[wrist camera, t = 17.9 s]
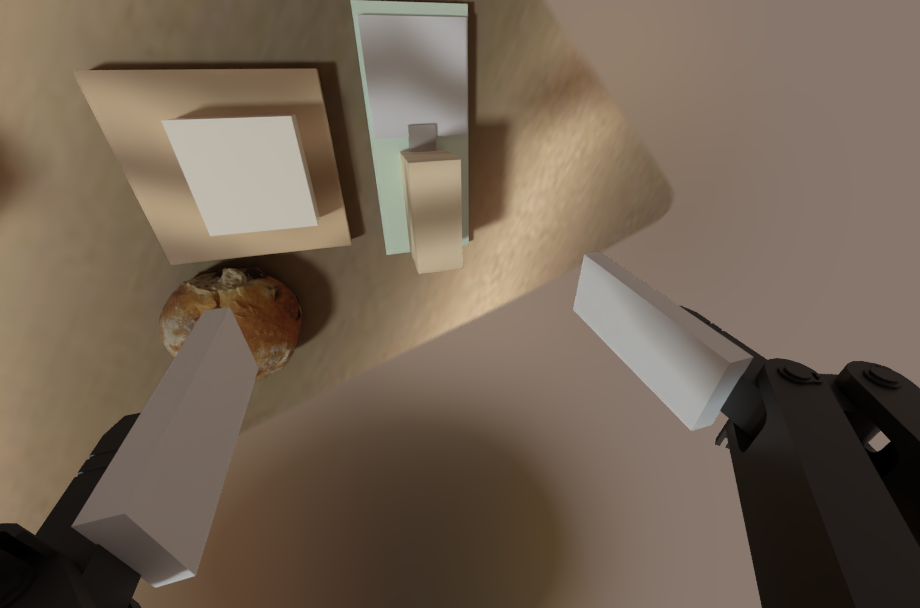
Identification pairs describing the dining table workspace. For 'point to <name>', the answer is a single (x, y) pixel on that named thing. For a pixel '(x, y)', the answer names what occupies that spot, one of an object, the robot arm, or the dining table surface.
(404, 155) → the panel with upright block
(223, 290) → the bread roll
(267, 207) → the tile
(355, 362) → the dining table surface
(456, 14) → the mat
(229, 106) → the board
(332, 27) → the dining table surface
